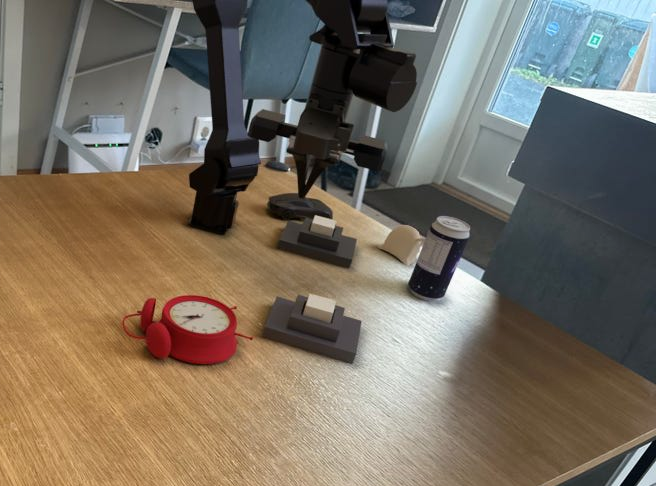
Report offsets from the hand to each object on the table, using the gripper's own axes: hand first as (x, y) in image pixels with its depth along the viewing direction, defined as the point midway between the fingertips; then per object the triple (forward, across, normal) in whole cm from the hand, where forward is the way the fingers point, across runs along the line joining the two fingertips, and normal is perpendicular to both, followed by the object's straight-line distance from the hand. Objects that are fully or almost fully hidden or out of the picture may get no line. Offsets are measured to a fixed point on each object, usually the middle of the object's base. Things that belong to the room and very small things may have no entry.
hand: (301, 197), depth 102 cm
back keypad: (+12, +4, +11) cm, 17 cm away
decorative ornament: (+12, +18, +18) cm, 28 cm away
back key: (+9, +4, +11) cm, 15 cm away
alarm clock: (+12, -8, -28) cm, 31 cm away
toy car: (+12, -1, +23) cm, 26 cm away
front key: (+9, +7, -17) cm, 20 cm away
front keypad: (+12, +7, -17) cm, 22 cm away
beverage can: (+12, +22, +6) cm, 26 cm away
